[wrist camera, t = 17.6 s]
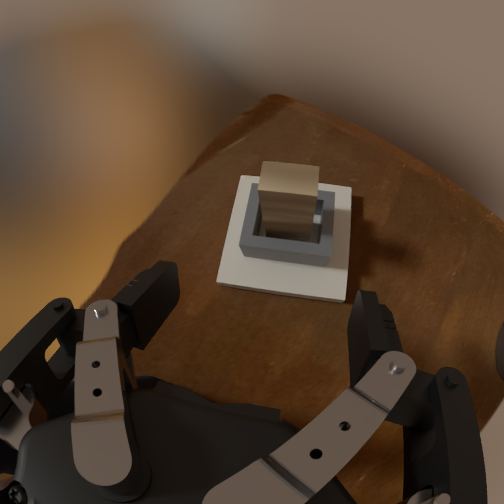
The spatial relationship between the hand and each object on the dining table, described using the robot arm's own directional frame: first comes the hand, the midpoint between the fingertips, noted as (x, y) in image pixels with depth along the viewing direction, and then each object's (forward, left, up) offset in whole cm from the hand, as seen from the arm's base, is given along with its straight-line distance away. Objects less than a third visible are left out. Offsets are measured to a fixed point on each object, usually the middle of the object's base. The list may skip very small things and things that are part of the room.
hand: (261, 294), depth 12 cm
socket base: (-3, -8, -15) cm, 17 cm away
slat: (-3, -8, -13) cm, 16 cm away
